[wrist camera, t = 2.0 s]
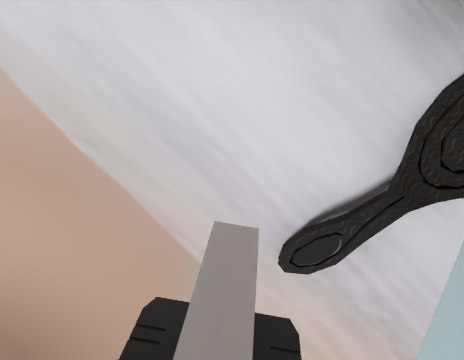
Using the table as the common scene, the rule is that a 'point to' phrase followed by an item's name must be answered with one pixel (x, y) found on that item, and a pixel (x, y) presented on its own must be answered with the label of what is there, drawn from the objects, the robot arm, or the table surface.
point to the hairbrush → (393, 189)
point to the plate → (447, 320)
